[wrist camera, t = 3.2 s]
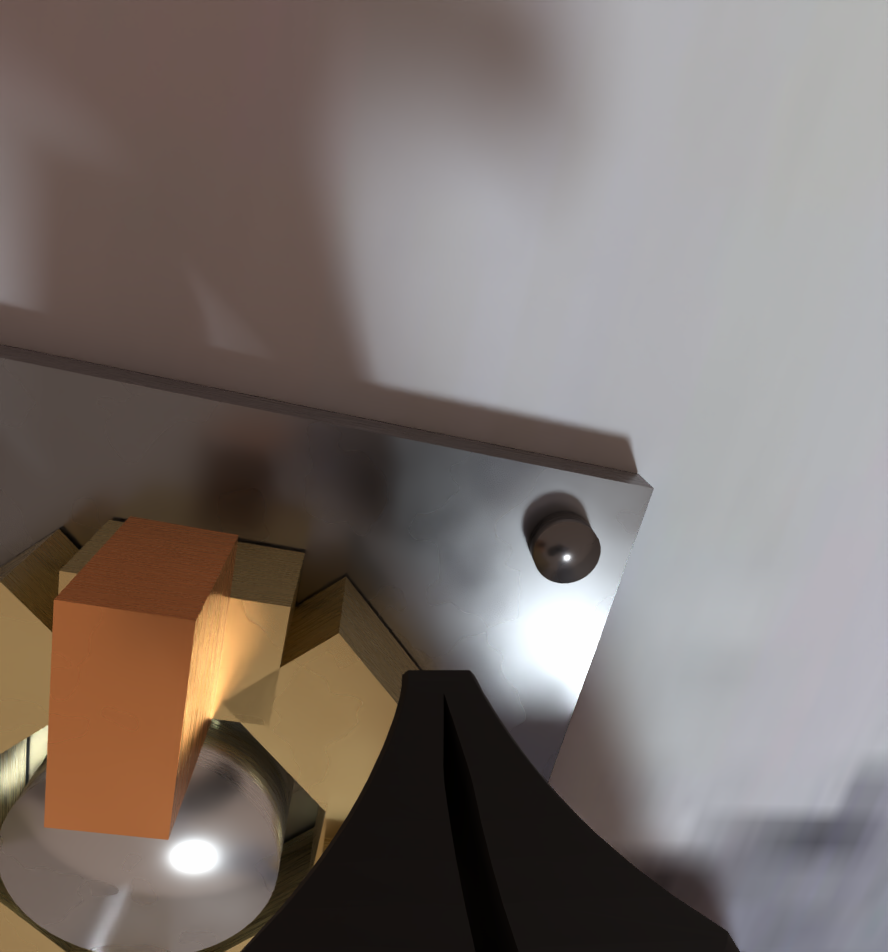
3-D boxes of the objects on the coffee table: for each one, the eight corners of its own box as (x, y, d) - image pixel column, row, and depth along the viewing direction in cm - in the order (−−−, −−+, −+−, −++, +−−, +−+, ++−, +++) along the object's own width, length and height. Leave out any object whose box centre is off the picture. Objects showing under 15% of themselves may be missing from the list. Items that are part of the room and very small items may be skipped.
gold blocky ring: (507, 534, 16) (562, 676, 11) (383, 962, 21) (380, 1200, 16) (-118, 420, 14) (-414, 529, 9) (-94, 925, 19) (-275, 1185, 13)
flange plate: (638, 474, 17) (723, 555, 12) (455, 999, 23) (469, 1170, 19) (-253, 293, 14) (-539, 319, 9) (-180, 954, 20) (-331, 1145, 16)
